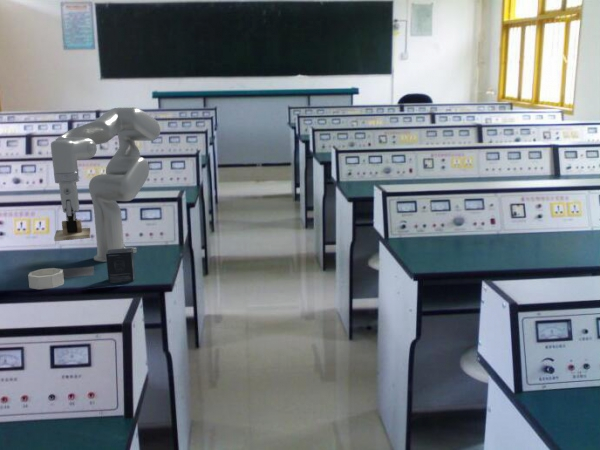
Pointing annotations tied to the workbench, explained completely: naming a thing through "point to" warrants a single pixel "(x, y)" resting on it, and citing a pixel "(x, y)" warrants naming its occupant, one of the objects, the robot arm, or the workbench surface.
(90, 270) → the mat
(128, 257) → the box
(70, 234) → the beige plate with ridge
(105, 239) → the robot arm
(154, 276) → the workbench surface
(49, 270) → the bowl
